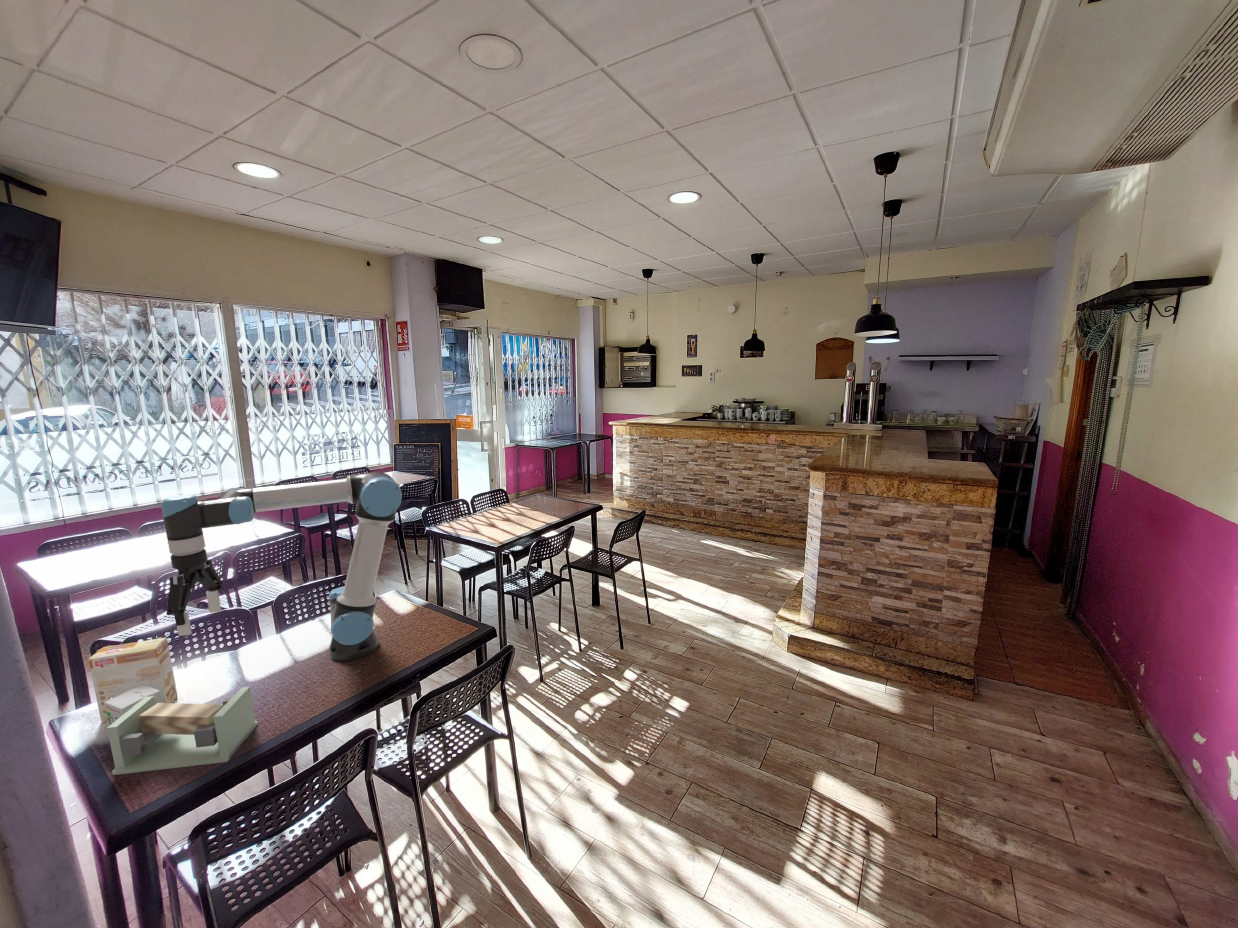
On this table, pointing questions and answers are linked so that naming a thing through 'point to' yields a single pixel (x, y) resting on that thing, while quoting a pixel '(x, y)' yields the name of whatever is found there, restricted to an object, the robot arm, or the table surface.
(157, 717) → the rail
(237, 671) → the table surface
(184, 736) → the bracket stand
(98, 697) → the coffeecake box
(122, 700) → the ink box
